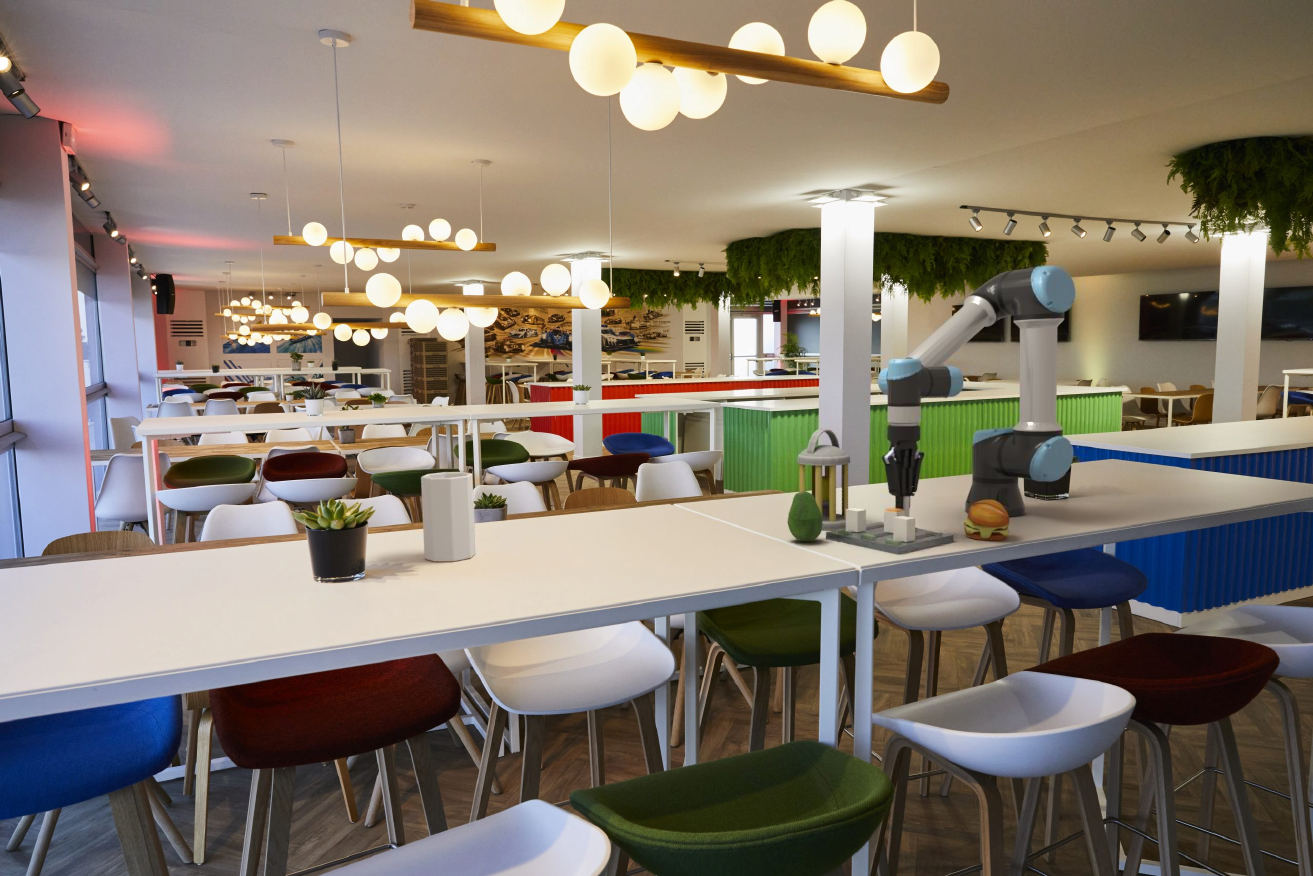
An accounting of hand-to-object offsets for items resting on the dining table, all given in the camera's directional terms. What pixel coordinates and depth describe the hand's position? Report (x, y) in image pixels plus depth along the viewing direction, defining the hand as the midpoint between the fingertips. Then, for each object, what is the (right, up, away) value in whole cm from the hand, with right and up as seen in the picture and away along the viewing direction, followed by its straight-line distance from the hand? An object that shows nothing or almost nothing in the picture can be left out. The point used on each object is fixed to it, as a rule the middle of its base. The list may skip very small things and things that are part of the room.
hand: (902, 523), depth 196 cm
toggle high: (-3, -3, -11) cm, 11 cm away
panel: (-4, -4, -3) cm, 6 cm away
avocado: (-24, -4, -2) cm, 24 cm away
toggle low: (-11, -2, +1) cm, 11 cm away
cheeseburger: (+19, -4, -2) cm, 20 cm away
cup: (-105, -7, -11) cm, 106 cm away
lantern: (-15, -2, +17) cm, 23 cm away
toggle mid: (-3, -2, -2) cm, 4 cm away
